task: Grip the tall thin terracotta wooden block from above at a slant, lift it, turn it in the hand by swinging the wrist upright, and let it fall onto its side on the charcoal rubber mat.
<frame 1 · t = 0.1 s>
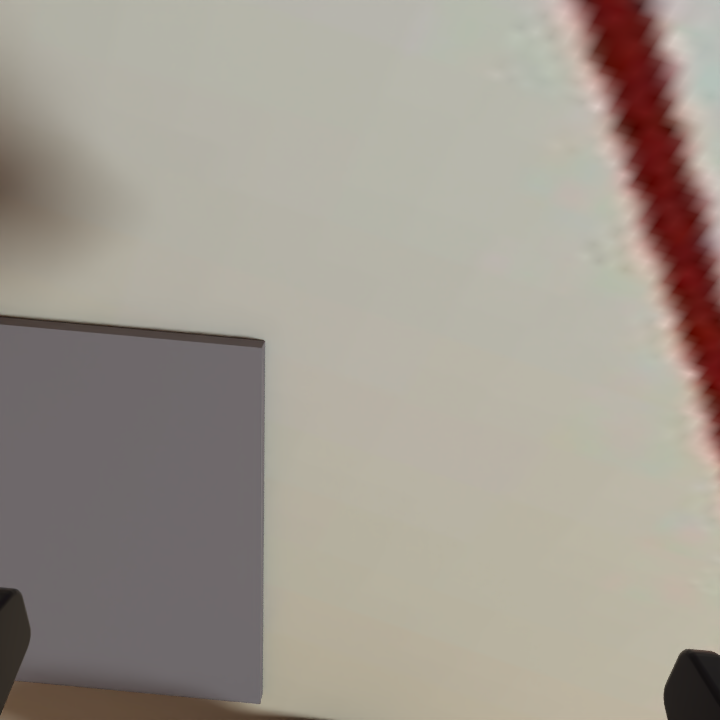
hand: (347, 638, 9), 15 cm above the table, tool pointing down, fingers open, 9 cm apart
charcoal mat: (82, 529, 27), on the table
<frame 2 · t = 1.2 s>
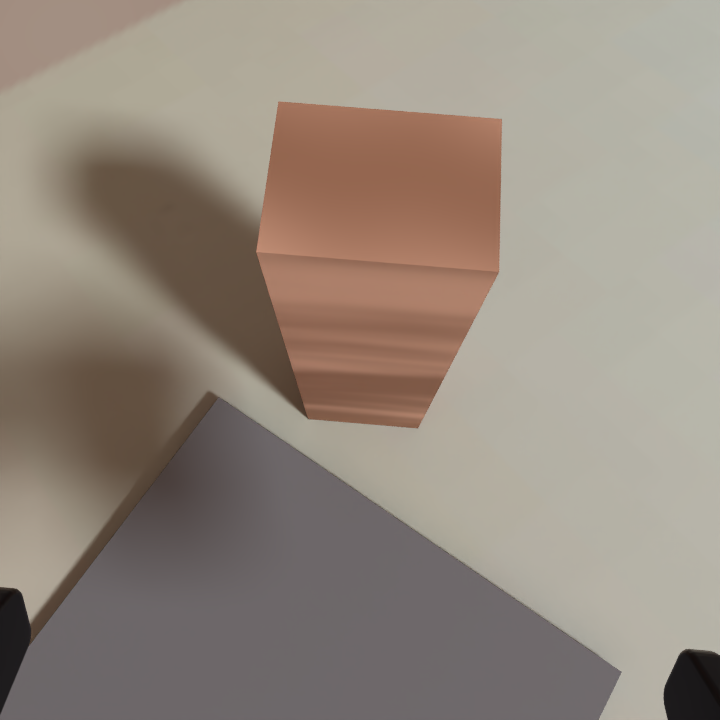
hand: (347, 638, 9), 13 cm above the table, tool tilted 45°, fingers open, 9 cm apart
terracotta block: (366, 383, 23), on the table
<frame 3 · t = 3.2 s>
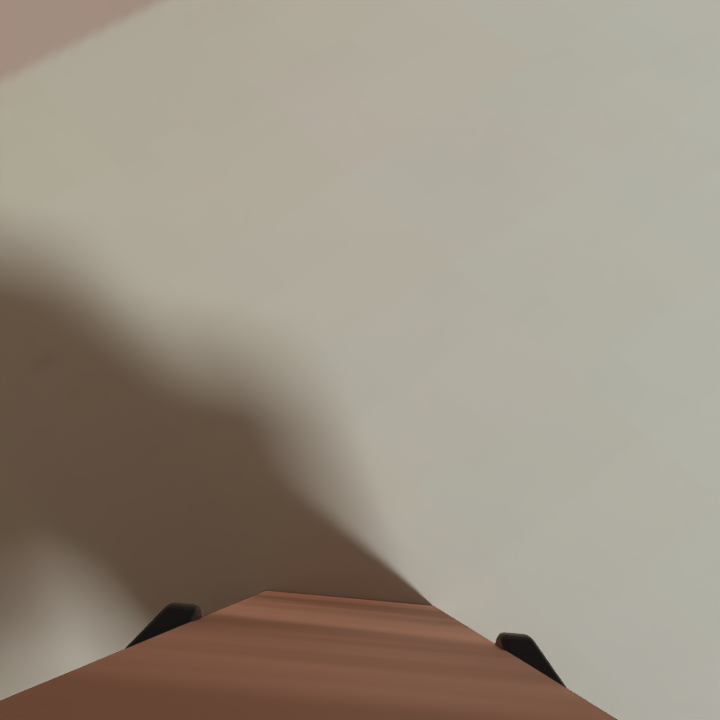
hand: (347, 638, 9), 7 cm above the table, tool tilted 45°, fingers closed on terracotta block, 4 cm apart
terracotta block: (343, 667, 14), on the table, touching gripper
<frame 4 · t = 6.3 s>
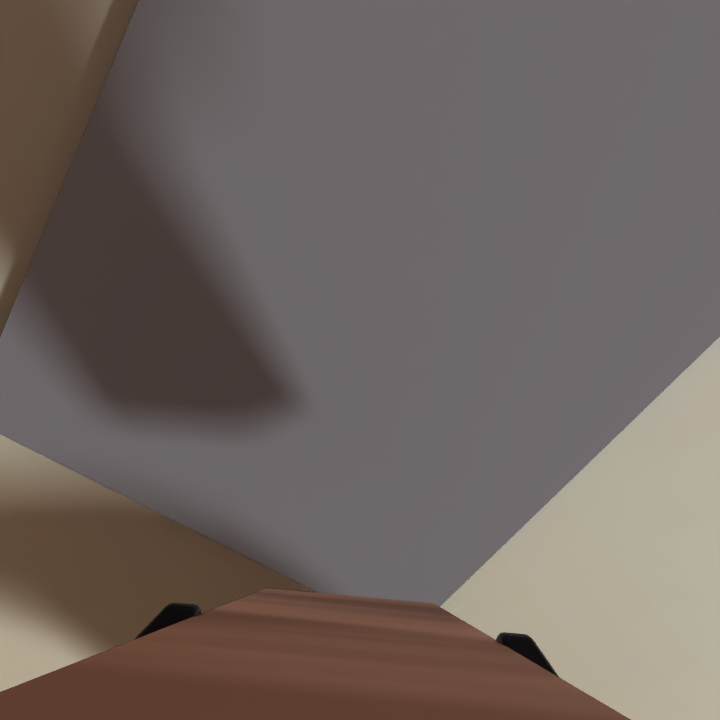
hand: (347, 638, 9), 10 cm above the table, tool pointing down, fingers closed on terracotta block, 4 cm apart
terracotta block: (343, 664, 14), point 6 cm above the table, tilted 45°, touching gripper
charcoal mat: (375, 290, 17), on the table
when the fingers open (7 cm above the table, at t = 7.8 s): terracotta block moves 2 cm and tips over, resting on charcoal mat.
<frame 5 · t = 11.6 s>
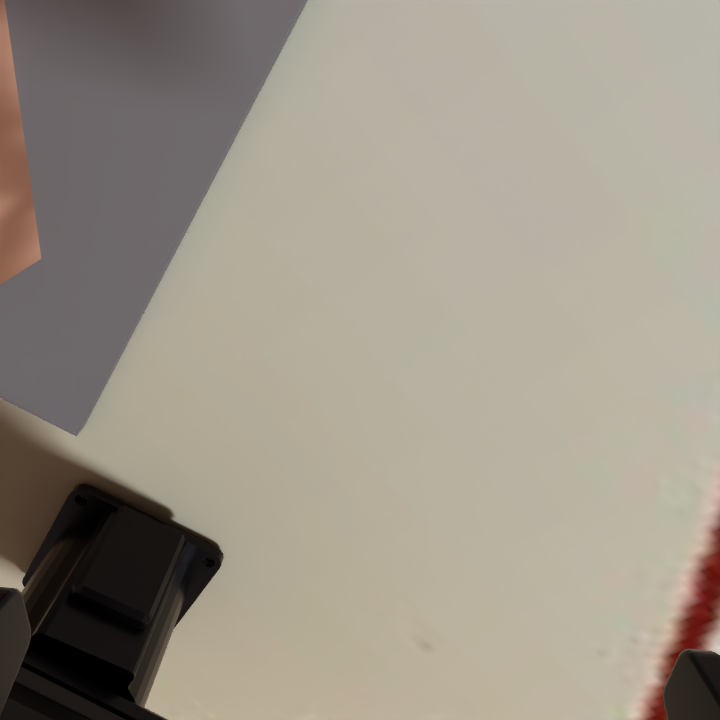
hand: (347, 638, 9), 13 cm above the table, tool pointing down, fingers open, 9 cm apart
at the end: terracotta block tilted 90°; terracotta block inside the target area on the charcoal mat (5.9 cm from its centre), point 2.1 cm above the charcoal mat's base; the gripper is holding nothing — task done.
